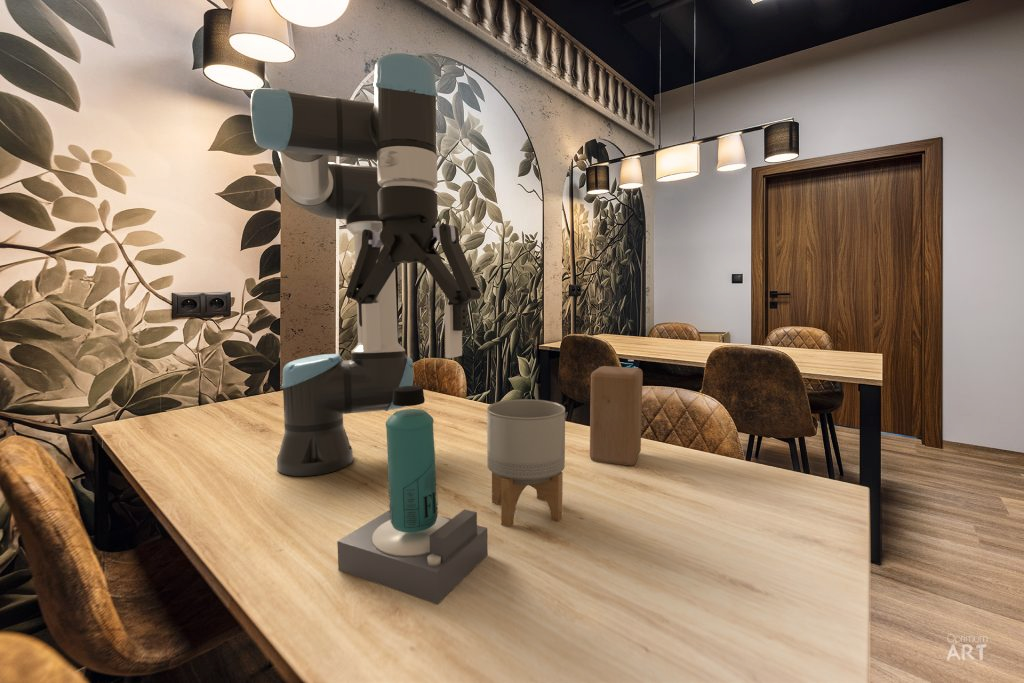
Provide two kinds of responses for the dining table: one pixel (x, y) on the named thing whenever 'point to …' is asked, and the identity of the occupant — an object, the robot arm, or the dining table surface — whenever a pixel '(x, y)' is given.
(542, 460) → the planter
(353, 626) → the dining table surface
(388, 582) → the domed button base
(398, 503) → the beverage bottle
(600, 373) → the wooden block
